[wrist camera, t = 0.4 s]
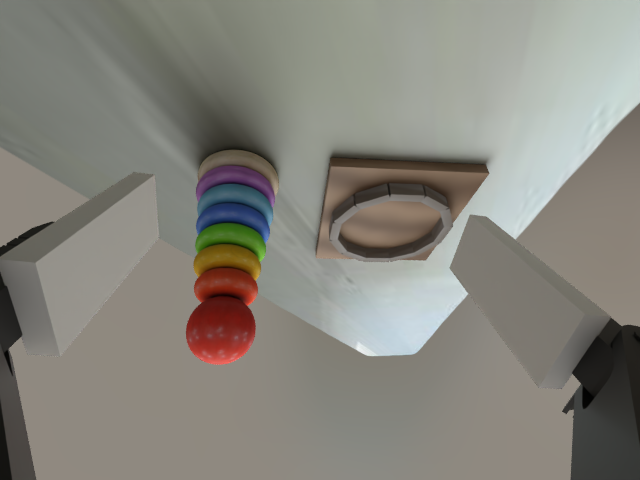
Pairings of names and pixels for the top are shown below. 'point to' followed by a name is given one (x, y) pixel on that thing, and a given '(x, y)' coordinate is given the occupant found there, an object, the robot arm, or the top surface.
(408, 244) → the collar board
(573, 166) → the top surface
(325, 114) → the top surface
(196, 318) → the stacking toy
